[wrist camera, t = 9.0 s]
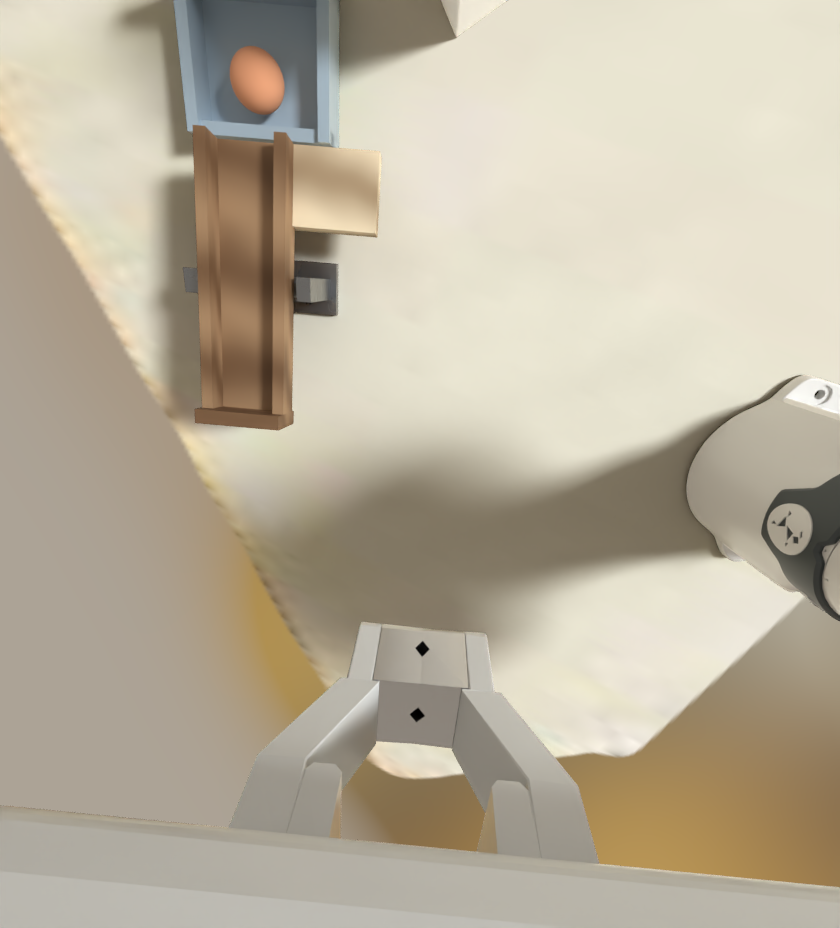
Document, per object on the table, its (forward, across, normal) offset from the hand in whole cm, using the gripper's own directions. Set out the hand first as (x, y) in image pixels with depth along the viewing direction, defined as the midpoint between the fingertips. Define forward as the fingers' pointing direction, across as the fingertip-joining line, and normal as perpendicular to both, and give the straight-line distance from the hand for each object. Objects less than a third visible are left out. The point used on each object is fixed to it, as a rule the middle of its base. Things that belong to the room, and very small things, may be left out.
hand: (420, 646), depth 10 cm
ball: (+29, +14, -20) cm, 37 cm away
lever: (+27, +11, -6) cm, 30 cm away
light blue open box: (+31, +14, -21) cm, 40 cm away
